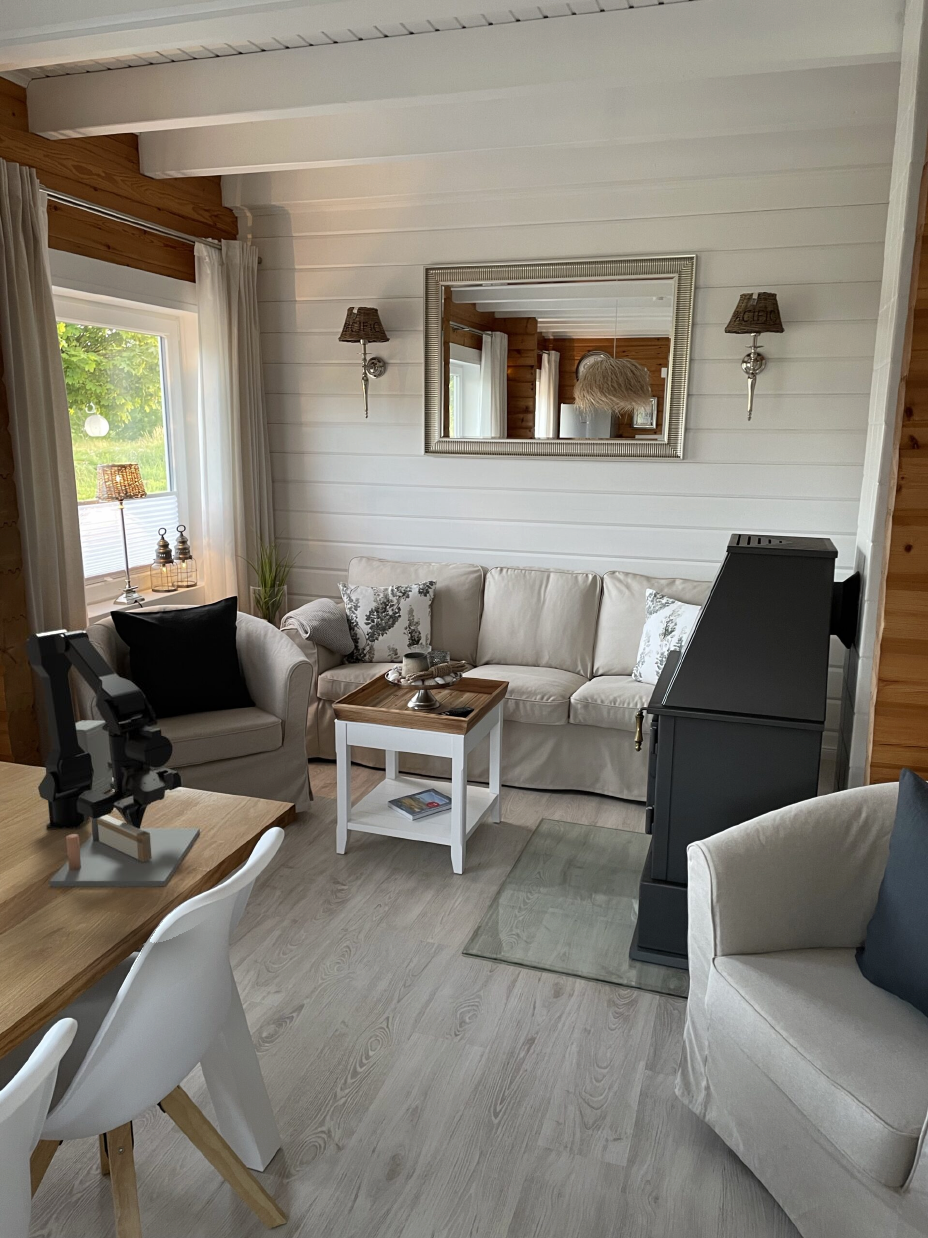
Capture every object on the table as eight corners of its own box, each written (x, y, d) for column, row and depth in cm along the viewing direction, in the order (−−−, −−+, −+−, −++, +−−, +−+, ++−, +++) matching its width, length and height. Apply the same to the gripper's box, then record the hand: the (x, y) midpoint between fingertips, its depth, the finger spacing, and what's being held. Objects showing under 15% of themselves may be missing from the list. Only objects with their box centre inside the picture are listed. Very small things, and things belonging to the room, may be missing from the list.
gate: (98, 841, 173) (96, 816, 172) (106, 838, 174) (104, 813, 173) (143, 862, 164) (141, 836, 163) (151, 859, 166) (149, 833, 165)
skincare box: (93, 801, 195) (87, 731, 192) (63, 798, 197) (57, 728, 194) (115, 787, 203) (110, 719, 200) (87, 784, 205) (81, 717, 202)
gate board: (49, 886, 158) (46, 846, 156) (98, 833, 179) (95, 797, 178) (164, 886, 158) (162, 846, 157) (199, 833, 180) (197, 797, 178)
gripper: (105, 781, 155) (115, 865, 158) (196, 749, 170) (203, 827, 173) (70, 767, 162) (80, 849, 165) (161, 738, 176) (168, 813, 179)
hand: (135, 834), depth 170 cm, fingers closed
